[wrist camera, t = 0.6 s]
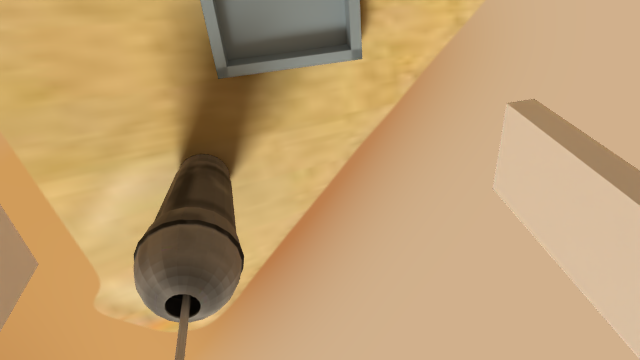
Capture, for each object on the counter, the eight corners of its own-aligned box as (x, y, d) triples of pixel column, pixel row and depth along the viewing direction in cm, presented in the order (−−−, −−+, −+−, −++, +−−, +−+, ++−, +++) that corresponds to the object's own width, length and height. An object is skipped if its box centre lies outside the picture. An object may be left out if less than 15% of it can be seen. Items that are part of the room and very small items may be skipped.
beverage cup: (240, 136, 37) (234, 318, 21) (249, 204, 41) (249, 404, 24) (154, 143, 37) (74, 338, 20) (171, 212, 40) (116, 424, 24)
